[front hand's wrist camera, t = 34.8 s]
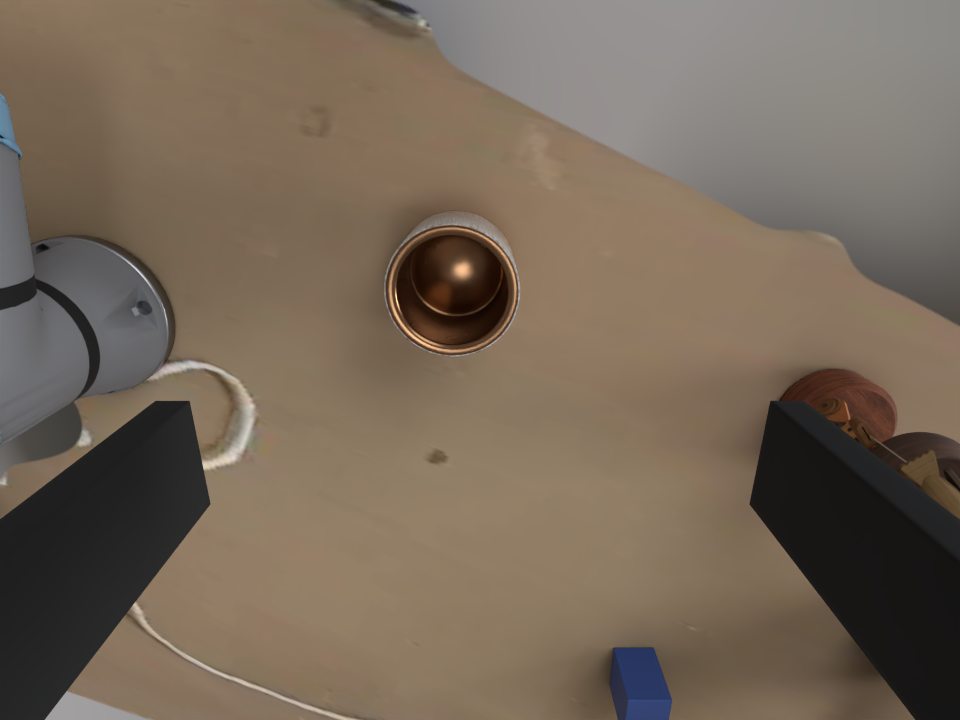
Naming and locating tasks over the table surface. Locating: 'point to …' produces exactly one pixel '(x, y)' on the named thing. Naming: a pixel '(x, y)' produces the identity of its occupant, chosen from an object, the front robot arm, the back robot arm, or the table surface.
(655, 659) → the brick
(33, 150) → the table surface
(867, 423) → the music box
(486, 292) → the planter
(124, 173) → the table surface
